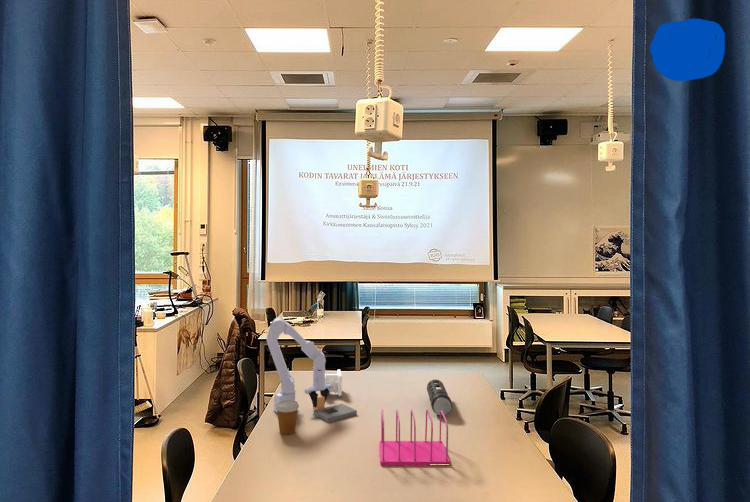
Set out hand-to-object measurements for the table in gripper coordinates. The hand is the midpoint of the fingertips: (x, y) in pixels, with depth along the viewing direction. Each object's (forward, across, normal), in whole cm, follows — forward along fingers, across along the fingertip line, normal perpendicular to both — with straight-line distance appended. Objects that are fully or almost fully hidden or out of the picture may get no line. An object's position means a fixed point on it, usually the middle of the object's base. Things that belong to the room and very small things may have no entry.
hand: (318, 405), depth 224 cm
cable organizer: (+2, +17, +15) cm, 23 cm away
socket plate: (+2, +2, -11) cm, 11 cm away
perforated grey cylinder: (+2, +47, -34) cm, 58 cm away
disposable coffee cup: (+2, -25, -15) cm, 29 cm away
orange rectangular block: (+2, 0, 0) cm, 2 cm away
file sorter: (+2, +2, -63) cm, 63 cm away
